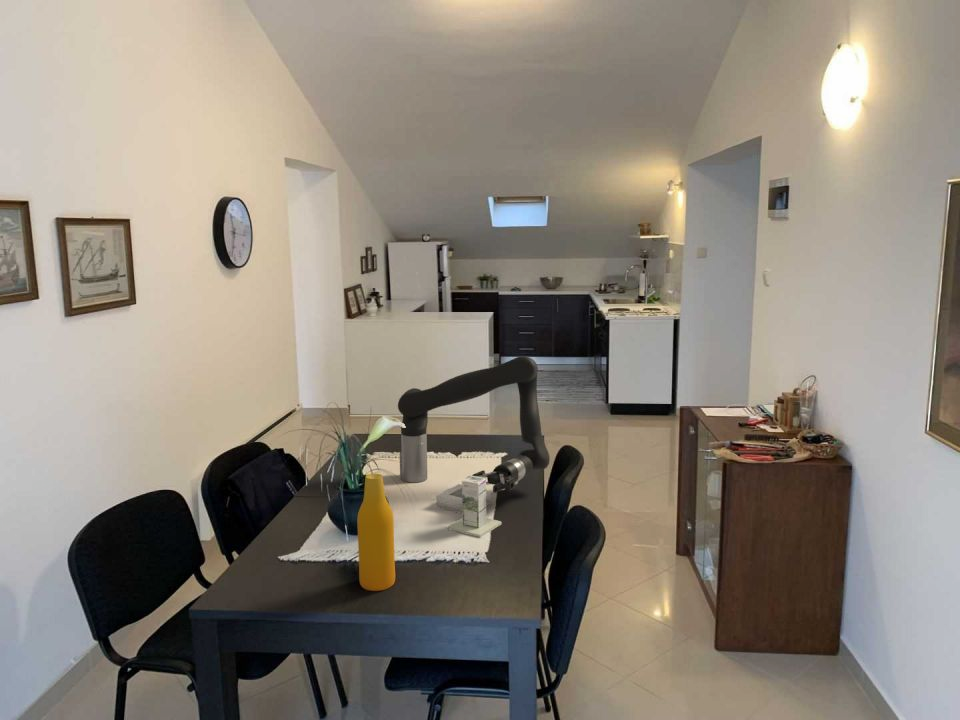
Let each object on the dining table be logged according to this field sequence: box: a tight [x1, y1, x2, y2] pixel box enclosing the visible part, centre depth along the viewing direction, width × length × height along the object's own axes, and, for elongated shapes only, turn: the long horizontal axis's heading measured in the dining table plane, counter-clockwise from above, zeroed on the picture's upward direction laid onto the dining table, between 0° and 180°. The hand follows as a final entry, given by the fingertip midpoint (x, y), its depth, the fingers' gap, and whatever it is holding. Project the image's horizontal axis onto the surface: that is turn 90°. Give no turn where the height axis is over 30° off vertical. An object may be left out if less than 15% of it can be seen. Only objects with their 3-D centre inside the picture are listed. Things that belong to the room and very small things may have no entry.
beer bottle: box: [356, 473, 396, 592], centre depth 187 cm, size 9×9×29 cm
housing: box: [435, 483, 492, 514], centre depth 243 cm, size 13×13×4 cm
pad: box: [447, 517, 503, 538], centre depth 225 cm, size 12×12×1 cm
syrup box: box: [461, 475, 487, 528], centre depth 224 cm, size 6×6×14 cm
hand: (482, 487), depth 227 cm, fingers open, 8 cm apart
